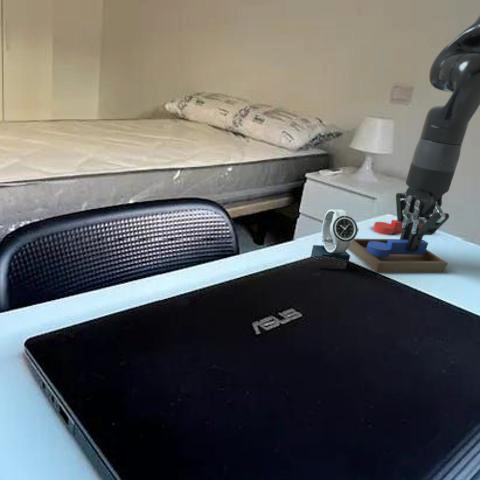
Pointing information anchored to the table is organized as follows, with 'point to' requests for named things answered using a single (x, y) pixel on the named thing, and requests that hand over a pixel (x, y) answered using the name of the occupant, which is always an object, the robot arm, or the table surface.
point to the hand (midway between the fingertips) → (407, 248)
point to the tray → (397, 259)
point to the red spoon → (389, 227)
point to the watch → (336, 235)
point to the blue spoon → (393, 248)
